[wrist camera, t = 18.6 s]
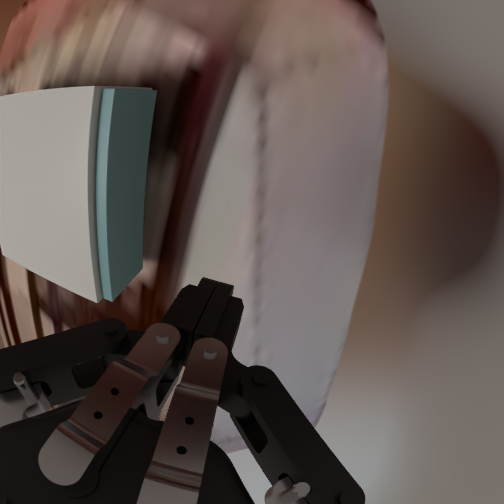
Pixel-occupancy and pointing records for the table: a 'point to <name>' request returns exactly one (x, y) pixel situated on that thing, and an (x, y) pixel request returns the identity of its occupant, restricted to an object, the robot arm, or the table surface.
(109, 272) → the grey drawer
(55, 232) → the housing
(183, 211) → the table surface
